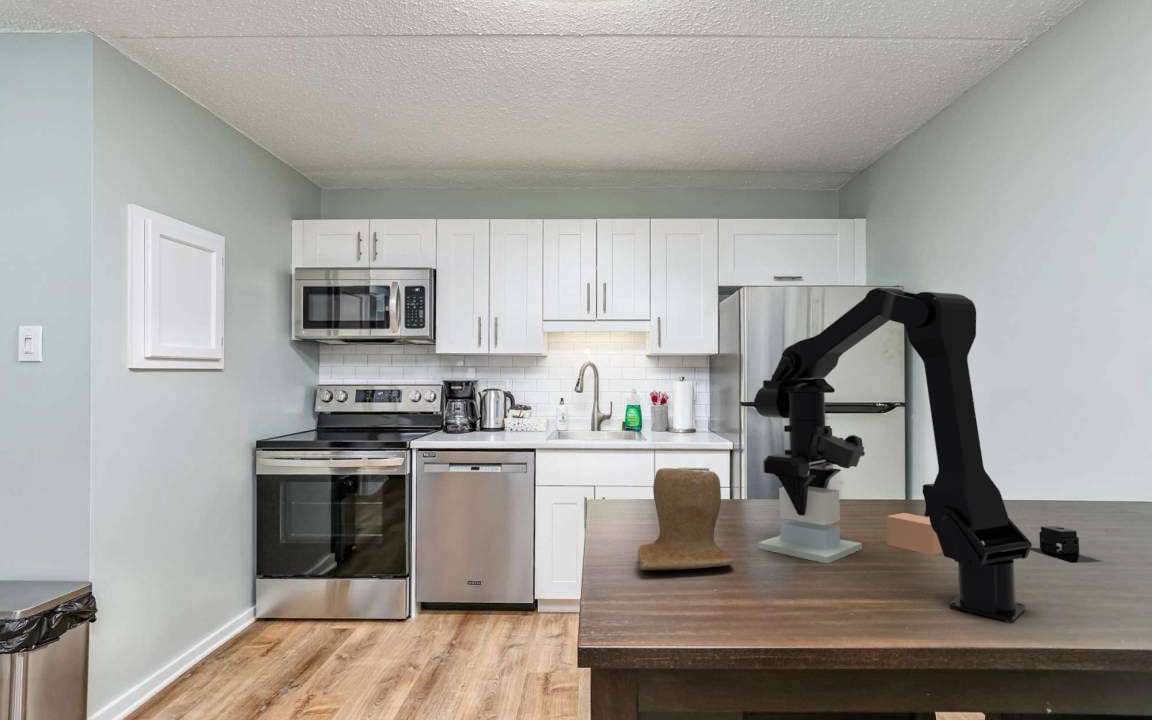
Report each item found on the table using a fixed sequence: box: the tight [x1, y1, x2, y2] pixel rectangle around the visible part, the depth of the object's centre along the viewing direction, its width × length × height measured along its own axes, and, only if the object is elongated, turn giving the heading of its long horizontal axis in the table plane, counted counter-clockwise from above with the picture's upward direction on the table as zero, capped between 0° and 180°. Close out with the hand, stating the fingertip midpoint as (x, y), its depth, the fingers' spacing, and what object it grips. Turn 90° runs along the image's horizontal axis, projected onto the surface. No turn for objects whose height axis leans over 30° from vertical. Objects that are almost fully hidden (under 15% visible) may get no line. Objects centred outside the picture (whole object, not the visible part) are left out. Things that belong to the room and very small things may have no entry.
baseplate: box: [757, 519, 863, 564], centre depth 102 cm, size 12×12×4 cm
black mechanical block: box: [1030, 525, 1103, 564], centre depth 98 cm, size 12×7×5 cm, turn 8°
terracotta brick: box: [885, 512, 943, 557], centre depth 102 cm, size 5×8×5 cm, turn 29°
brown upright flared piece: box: [637, 467, 735, 571], centre depth 94 cm, size 15×12×15 cm
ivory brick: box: [778, 486, 841, 525], centre depth 102 cm, size 5×8×5 cm, turn 41°
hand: (809, 512), depth 102 cm, fingers closed on ivory brick, 5 cm apart
